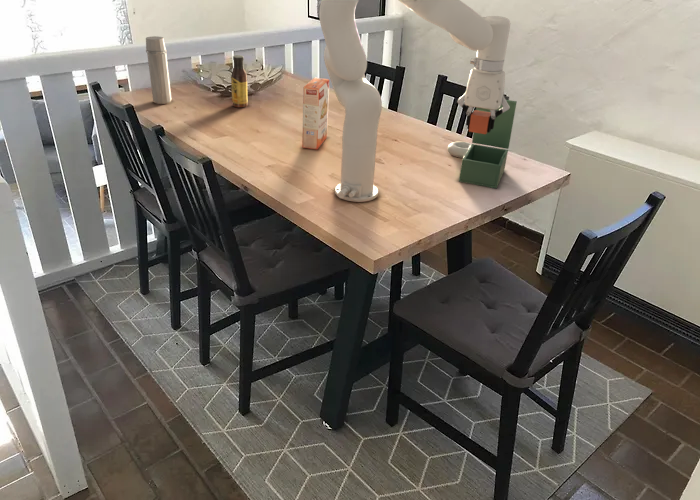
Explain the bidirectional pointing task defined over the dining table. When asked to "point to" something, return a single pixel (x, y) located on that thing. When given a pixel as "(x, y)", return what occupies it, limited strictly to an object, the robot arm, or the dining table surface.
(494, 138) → the lid
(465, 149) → the donut
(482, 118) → the block
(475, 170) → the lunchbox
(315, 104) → the cracker box
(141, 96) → the dining table surface
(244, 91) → the sauce bottle
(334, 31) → the robot arm
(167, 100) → the water bottle
